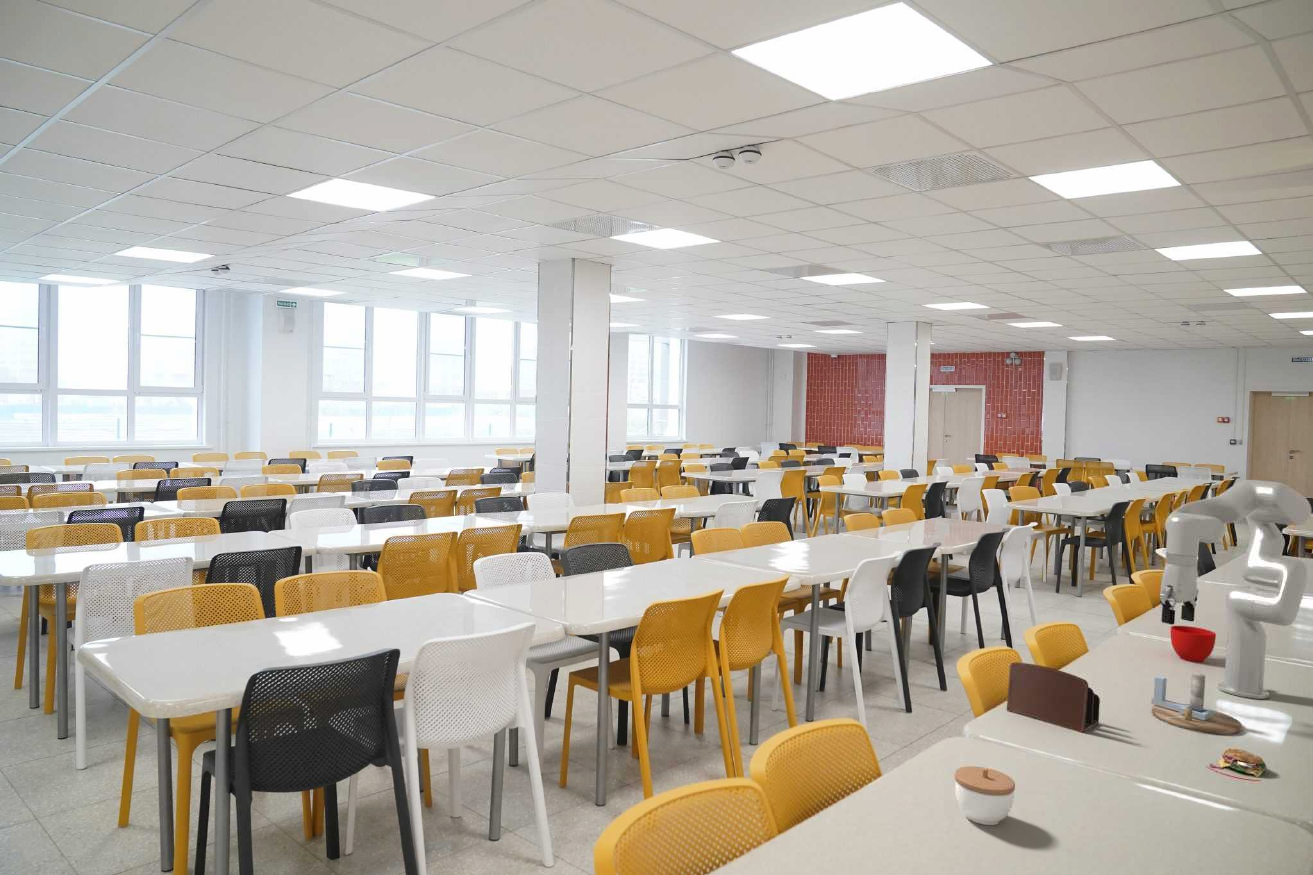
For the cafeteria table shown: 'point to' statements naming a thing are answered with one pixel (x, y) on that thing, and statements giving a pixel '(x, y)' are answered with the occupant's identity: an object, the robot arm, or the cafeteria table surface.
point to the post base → (1199, 724)
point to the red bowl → (1192, 642)
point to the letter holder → (1052, 697)
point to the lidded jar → (984, 794)
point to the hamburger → (1241, 763)
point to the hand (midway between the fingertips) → (1177, 621)
